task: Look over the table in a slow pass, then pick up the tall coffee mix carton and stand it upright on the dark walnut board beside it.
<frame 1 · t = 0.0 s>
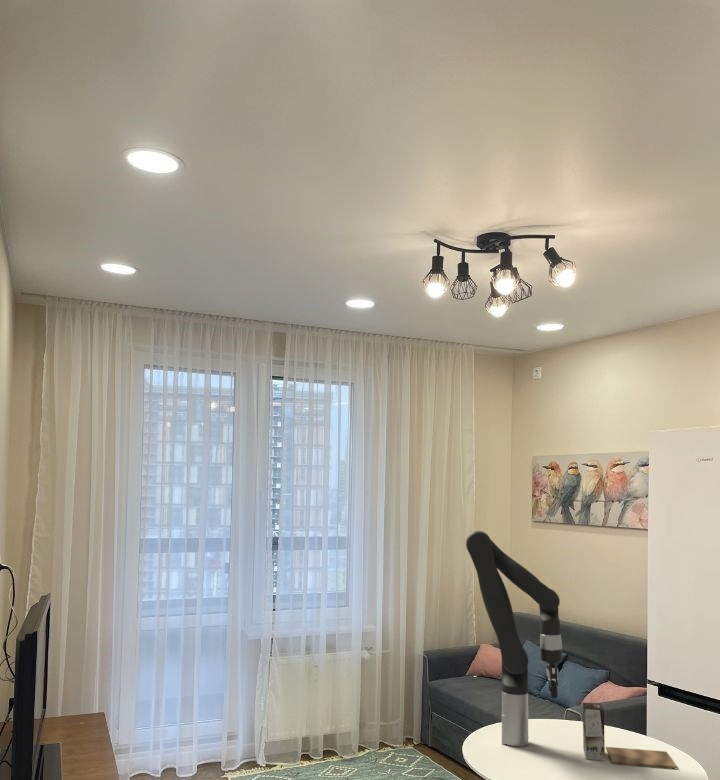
hand: (553, 694, 266), 17 cm above the table, tool pointing down, fingers open, 8 cm apart
walnut board: (640, 758, 253), on the table
coffee box: (594, 756, 255), on the table
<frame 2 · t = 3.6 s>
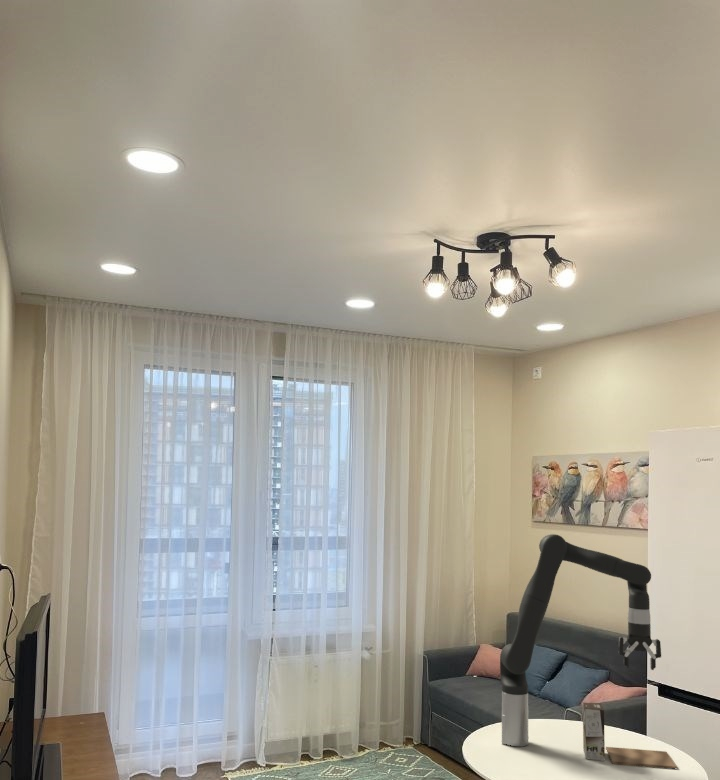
hand: (639, 668, 267), 27 cm above the table, tool pointing down, fingers open, 8 cm apart
nothing on the table moved.
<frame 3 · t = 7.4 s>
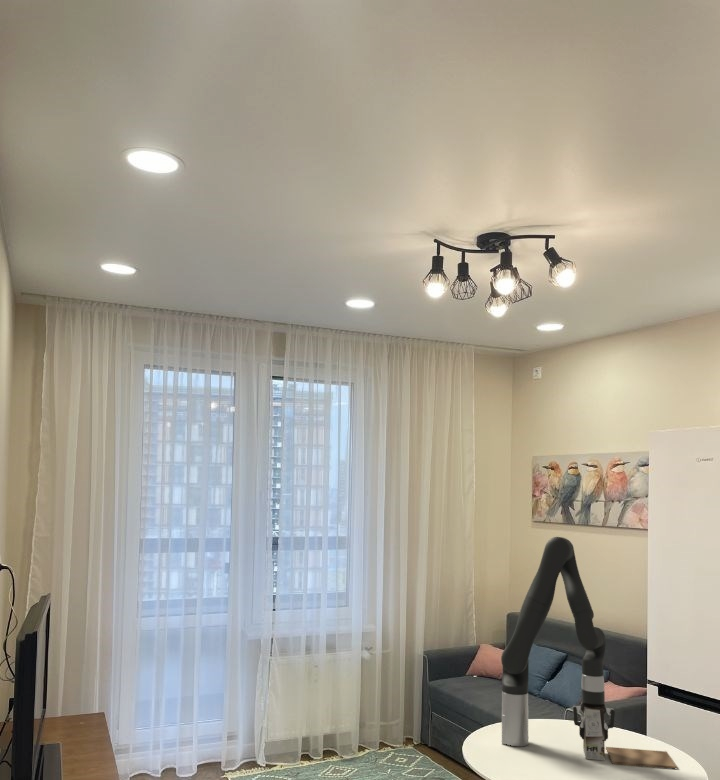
hand: (593, 739, 255), 5 cm above the table, tool pointing down, fingers closed on coffee box, 6 cm apart
coffee box: (594, 756, 255), on the table, touching gripper
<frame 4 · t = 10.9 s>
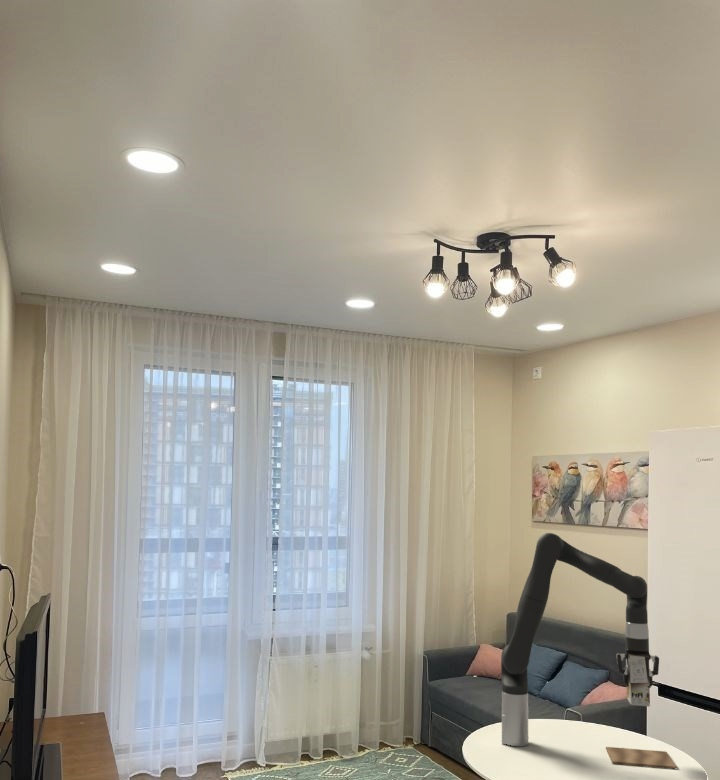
hand: (638, 686, 256), 23 cm above the table, tool pointing down, fingers closed on coffee box, 6 cm apart
coffee box: (638, 703, 255), point 18 cm above the table, touching gripper
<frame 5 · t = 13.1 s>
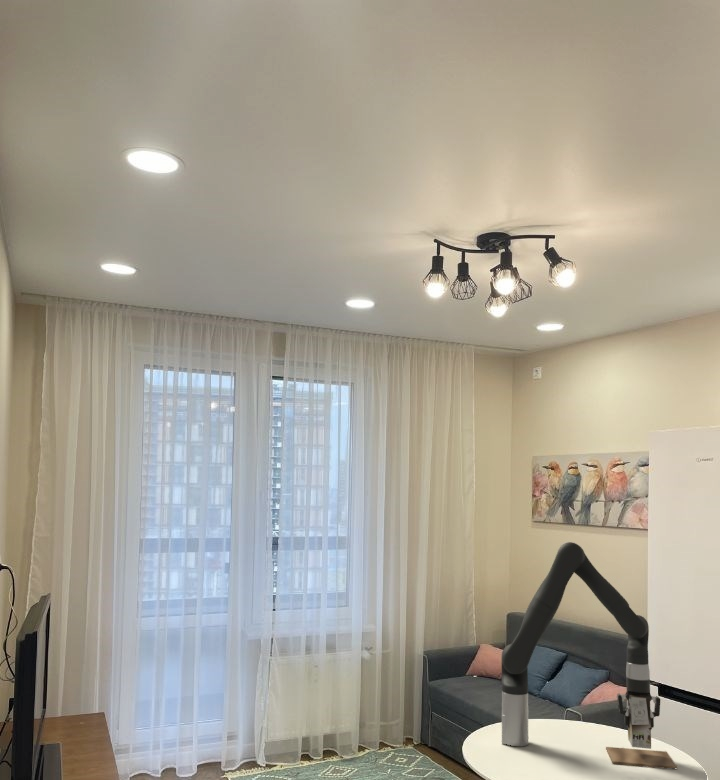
hand: (639, 727, 254), 10 cm above the table, tool pointing down, fingers closed on coffee box, 6 cm apart
coffee box: (639, 744, 253), point 5 cm above the table, touching gripper
when the fingers open (7 cm above the table, at t = 14.8 s): coffee box stays where it is, resting on walnut board.
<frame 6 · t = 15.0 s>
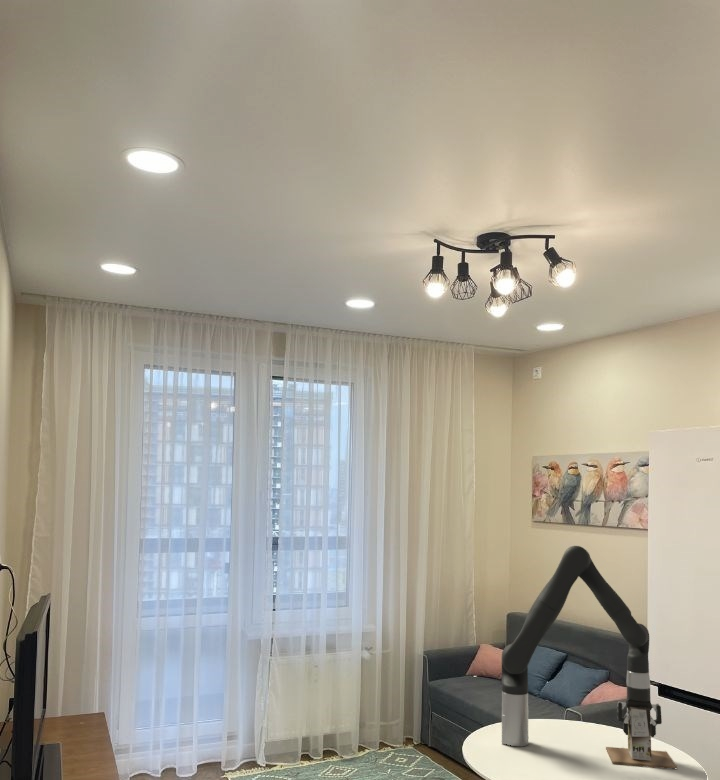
hand: (639, 735, 254), 7 cm above the table, tool pointing down, fingers open, 8 cm apart
coffee box: (639, 756, 253), point 1 cm above the table, touching walnut board
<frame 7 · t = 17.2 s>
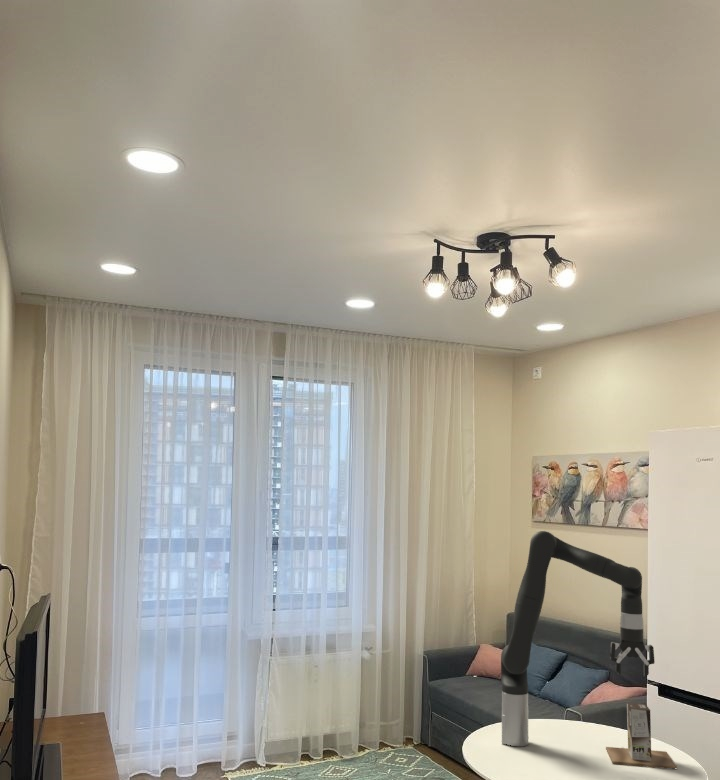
hand: (632, 675, 258), 27 cm above the table, tool pointing down, fingers open, 8 cm apart
nothing on the table moved.
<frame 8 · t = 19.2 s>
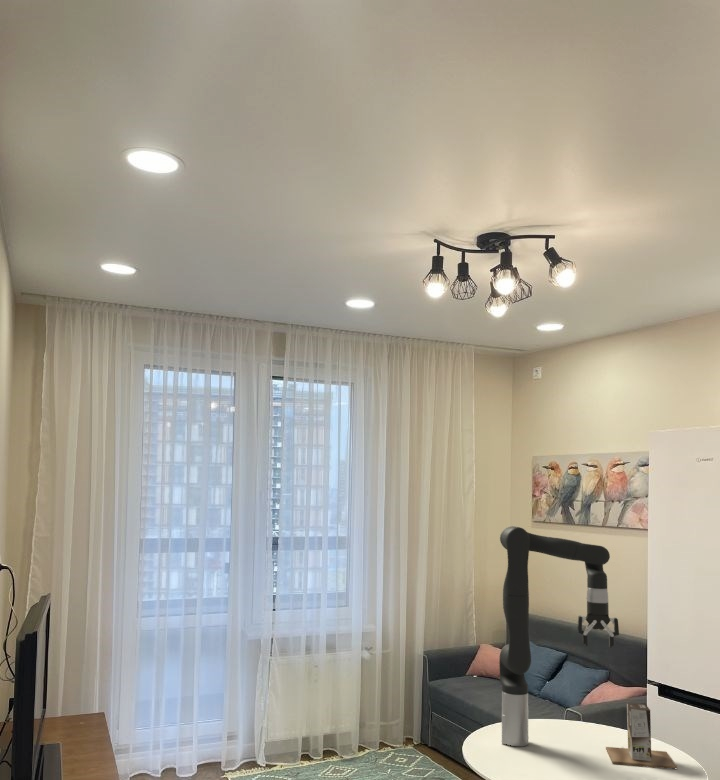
hand: (598, 646, 273), 33 cm above the table, tool pointing down, fingers open, 8 cm apart
nothing on the table moved.
at the end: coffee box inside the target area on the walnut board (0.1 cm from its centre), point 0.6 cm above the walnut board's base; coffee box tilted 0°; the gripper is holding nothing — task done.
